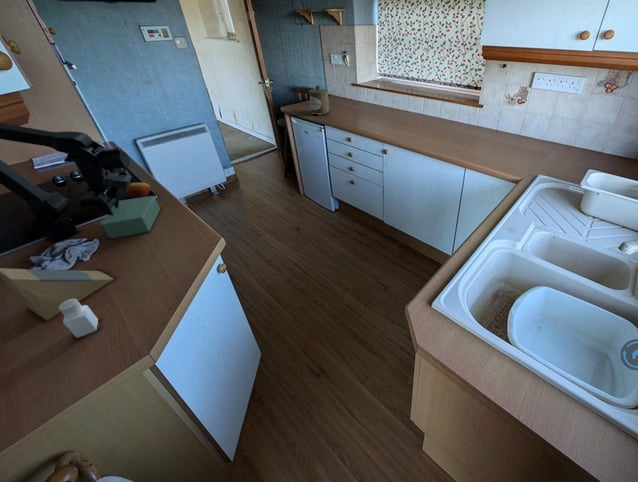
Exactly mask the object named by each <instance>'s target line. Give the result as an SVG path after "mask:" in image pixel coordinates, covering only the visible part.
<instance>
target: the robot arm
mask: <svg viewBox="0 0 638 482" xmlns="http://www.w3.org/2000/svg"><path fill="white" fill-rule="evenodd" d="M0 140H3V141H10V142H16V143H23V144H28V145H29V144H30V145H37V146H42V147H47V148H51V149H53V150H55V151H57V152H59V153H63V154H67V155H66V157H65V158H64V159H63V162H64V163H70V162H73V163H74V164H75V166H76V168H77V170H78V171H79V173H80V175H81V176H80V177H79V179H80V181H81V182H83V181H85V183H86V185H87V188H86V191H87V192H88V193H85V194H84V195H83V196H81V198H80V199H79V200H78V202H77V203H78V205H79V206H80V208H82V209H83V208H89V207H93V208H95V209H98V210H99V211H101V212H102V213H104V214H106V215H107V214H108V215H111V214H112V210H111V208H112V206H111V207H110V205H109V202H108V201H109V200H110V199H111V197H116V199H117V200H116V203H117V205H119V201H120V199H119V189H121V190H126V189H127V188H128V187H129V185H130V184H131V183H132V182H131V181H132V180H131V179H132V178H133V176H131V174H130V173H129V171H128V170H126V169H127V168H130V167H131V159H130V156H129V154H127V152H126V151H124V150H122V149H123V148H121V147H115V148H107V147H106V146H104V145H102V144H100V142H98V141H95V140H94V139H92V137H91V136H90V135H89V134H87V133H85V132H83V131H70V130H69V131H67V130H66V131H49V130H44V129H37V128H32V127H25V126H20V125H14V124H8V123H4V122H3V123H2V122H0ZM106 148H107V149H106ZM90 149H91V150H90ZM117 169H121V170H120V172H119V173H118V172H115V173H111V170H117ZM0 185H2V186H3V187H5V188H6V189H8V190H9V191H10V192H12V193H13V194H15V195H16V196H17V197H19V198H21V199H22V200H23V201H25V202H26V204H27V206H28V210H29V211H30V212H31V213H32V214H33V215H34V216H35V219H34V220H33V222H32V223H31V224H30V226H32V227H33V228H34V229H36V230H40V229H41V230H42V231H43V233H44V235H45V239H46V240H49V241H51V242H55V243H59V242H61V241H62V240H65V239H67V238H69V237H70V236H73V235H75V234H77V233H78V232H79V233H80V231H79V229H77V227H76V225H75V224H74V222H73V220H72V219H71V218H68V217H67V216H66V215H67V214H68V210H69V209H70V202H69V201H68V198H66V197H64V196H62V195H61V193H59V192H58V191H56V190H55V191H53V192H48V191H44V190H43V189H42V188H40V187H38V186H37V185H36V184H34V183H33V182H32V181H31V180H30V179H28V178H26V177H25V176H23V175H22V173H19V172H18V171H17V170H15V169H14V168H12V167H11V166H10V165H9V164H7V163H6V162H5V161H3V160H2V159H0ZM90 192H91V193H90Z"/></svg>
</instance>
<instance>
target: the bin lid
mask: <svg viewBox="0 0 638 482" xmlns="http://www.w3.org/2000/svg"><path fill="white" fill-rule="evenodd" d="M154 197H155V195H150V196H149V195H148V196H146V197H142V198H135V199H132V198H130V199H121V200H119V205H117V203H116V200H117V199H116V197H111V199H110V200H109V201H108V202H109V205H110V207H111V210H112V214H111V215H108V214H106V215H105V216H104V218H103V219H102V220H101V222H100V223H99V226H102V225H107V224H113V223H119V222H125V221H131V220H137V219H143V217H144V215H145V213H146V212H147V210H148V208H149V206H150V204H151V203H152V201H153V199H154ZM155 198H156V197H155Z"/></svg>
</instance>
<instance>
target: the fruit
mask: <svg viewBox="0 0 638 482" xmlns="http://www.w3.org/2000/svg"><path fill="white" fill-rule="evenodd" d="M150 190H151V185H150V184H149V183H146V182H131V184H130V185H129V187H128V188H127V189H125V191H126V194H127V195H128V196H129V197H130V199H135V198H142V197H148V196H149V195H150V194H149V193H150Z"/></svg>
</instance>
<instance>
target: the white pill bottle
mask: <svg viewBox="0 0 638 482" xmlns="http://www.w3.org/2000/svg"><path fill="white" fill-rule="evenodd" d="M58 308H59V310H60V311H61V312H60V314H62V315H63V318H62V319H63V320H62V323H63V325H65V327H67V329H68V330H69V331H70V333H72V335H73V336H74V337H75V338H76V339H78V338H81V337H84V336H86V335H90V334H92V333H95V332H96V331H97V330H98V325H99V324H98V323H99V319H98V317H97V316H96V315H95V314H94V312H93V310H92V309H91V308H90V307H89V305H87V304H83V305H82V304H81V303H80V301H78V300H77V299H69V300H67V301H64V302H63V303H62V304H60V306H59V307H58Z"/></svg>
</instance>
